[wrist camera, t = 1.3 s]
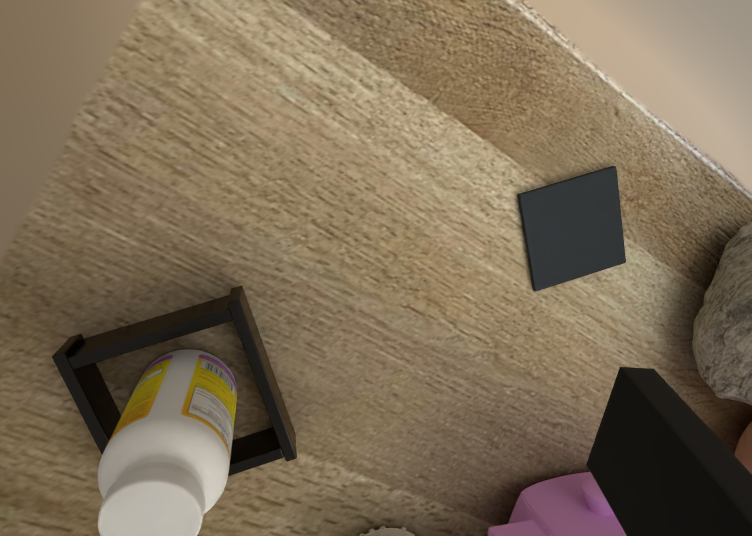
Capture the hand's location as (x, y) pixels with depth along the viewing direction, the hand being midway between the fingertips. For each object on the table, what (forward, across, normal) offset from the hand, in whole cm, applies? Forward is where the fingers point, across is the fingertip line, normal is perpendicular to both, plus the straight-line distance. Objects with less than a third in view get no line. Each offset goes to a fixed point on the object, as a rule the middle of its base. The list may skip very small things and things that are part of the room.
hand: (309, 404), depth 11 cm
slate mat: (+27, +18, -4) cm, 33 cm away
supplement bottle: (+22, -9, -17) cm, 29 cm away
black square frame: (+22, -9, -17) cm, 29 cm away
